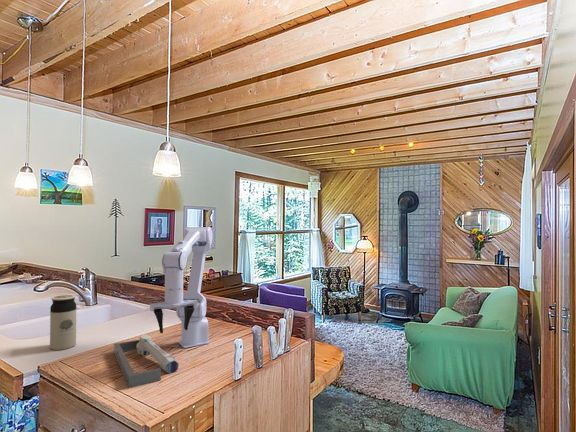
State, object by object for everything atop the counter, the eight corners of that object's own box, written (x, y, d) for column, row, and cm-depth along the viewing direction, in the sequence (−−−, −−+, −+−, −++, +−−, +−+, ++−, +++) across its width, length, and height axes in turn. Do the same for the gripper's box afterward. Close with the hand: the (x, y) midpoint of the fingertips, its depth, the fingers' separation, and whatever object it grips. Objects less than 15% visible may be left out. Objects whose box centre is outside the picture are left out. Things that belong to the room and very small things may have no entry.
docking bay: (139, 347, 128) (139, 339, 128) (160, 380, 101) (160, 369, 102) (113, 352, 123) (113, 343, 123) (128, 387, 97) (128, 376, 97)
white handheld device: (164, 363, 105) (134, 332, 123) (163, 384, 105) (133, 350, 123) (181, 358, 108) (149, 328, 126) (179, 379, 109) (148, 347, 127)
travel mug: (50, 345, 130) (50, 296, 130) (75, 341, 134) (76, 293, 135) (49, 352, 123) (50, 300, 124) (76, 347, 128) (76, 297, 128)
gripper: (151, 292, 109) (151, 337, 109) (199, 288, 116) (198, 331, 115) (149, 288, 115) (148, 331, 115) (194, 285, 122) (194, 325, 122)
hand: (173, 330), depth 116 cm, fingers open, 7 cm apart
